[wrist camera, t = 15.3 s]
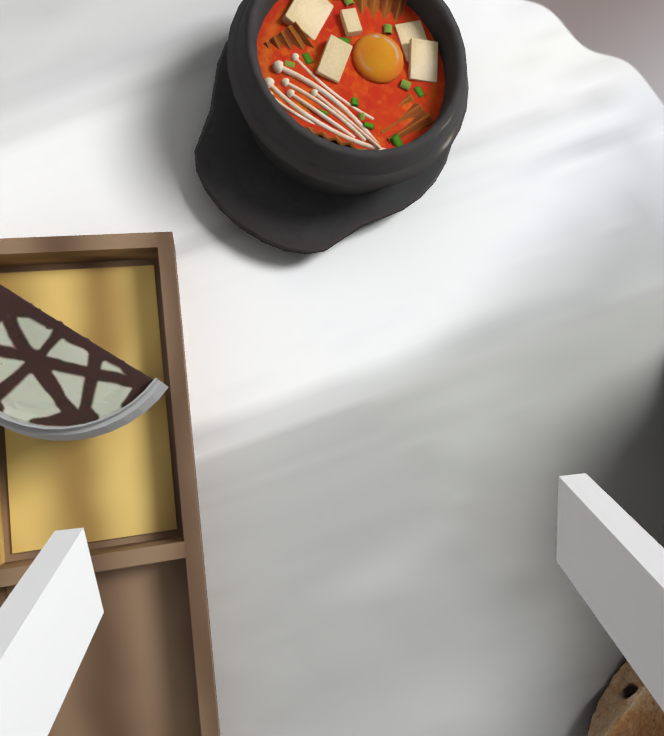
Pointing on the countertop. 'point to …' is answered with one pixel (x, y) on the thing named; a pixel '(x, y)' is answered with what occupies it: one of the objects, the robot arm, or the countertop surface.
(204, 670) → the walnut divided tray
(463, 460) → the countertop surface
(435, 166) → the casserole
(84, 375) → the food container
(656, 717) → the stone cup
